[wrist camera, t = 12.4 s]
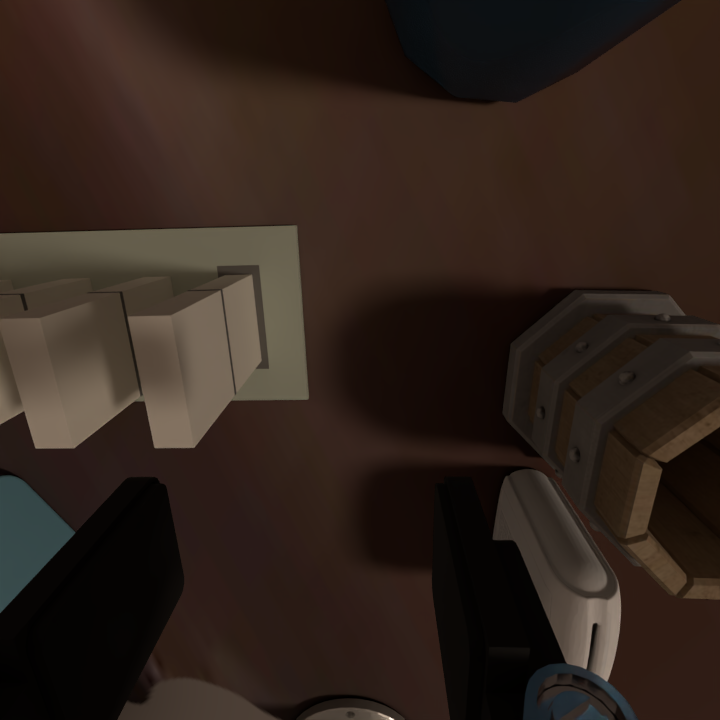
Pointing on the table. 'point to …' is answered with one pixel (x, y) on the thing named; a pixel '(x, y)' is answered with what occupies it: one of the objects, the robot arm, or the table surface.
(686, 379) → the tankard
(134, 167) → the table surface
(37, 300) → the domino
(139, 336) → the domino
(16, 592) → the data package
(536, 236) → the table surface
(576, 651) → the photo printer
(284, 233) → the domino mat
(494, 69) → the wine bottle
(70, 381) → the domino
